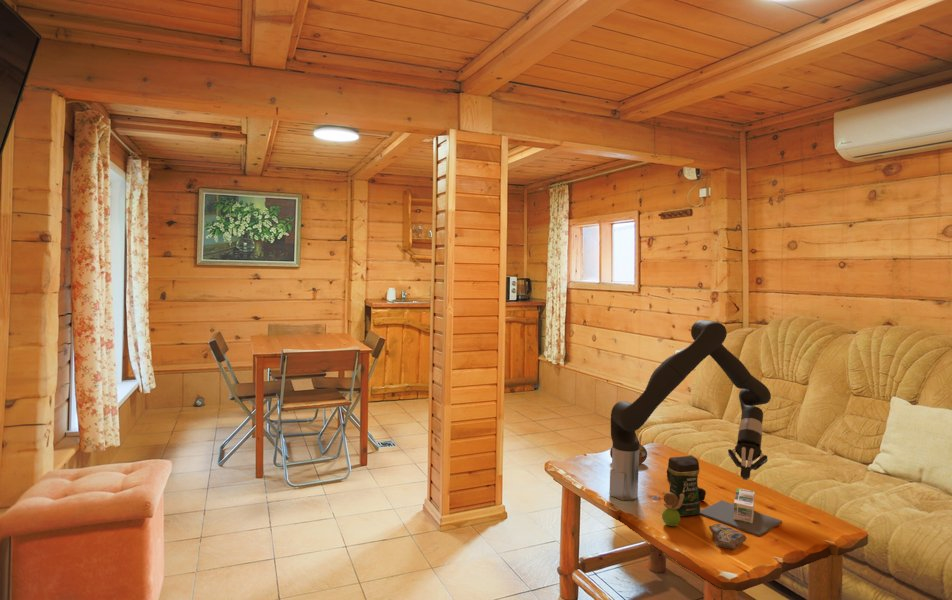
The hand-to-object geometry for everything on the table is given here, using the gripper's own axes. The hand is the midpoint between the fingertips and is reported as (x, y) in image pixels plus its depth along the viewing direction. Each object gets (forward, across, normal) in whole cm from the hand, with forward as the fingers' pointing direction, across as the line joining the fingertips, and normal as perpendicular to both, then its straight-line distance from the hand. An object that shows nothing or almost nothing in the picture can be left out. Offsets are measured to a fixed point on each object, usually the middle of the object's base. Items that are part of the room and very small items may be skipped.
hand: (744, 478), depth 190 cm
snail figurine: (+26, -18, -11) cm, 34 cm away
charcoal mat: (+13, 0, +2) cm, 14 cm away
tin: (-9, -46, +25) cm, 53 cm away
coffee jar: (+17, -16, -3) cm, 24 cm away
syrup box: (+4, 0, +7) cm, 8 cm away
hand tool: (+3, -22, +12) cm, 25 cm away
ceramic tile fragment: (+27, -2, -12) cm, 30 cm away
